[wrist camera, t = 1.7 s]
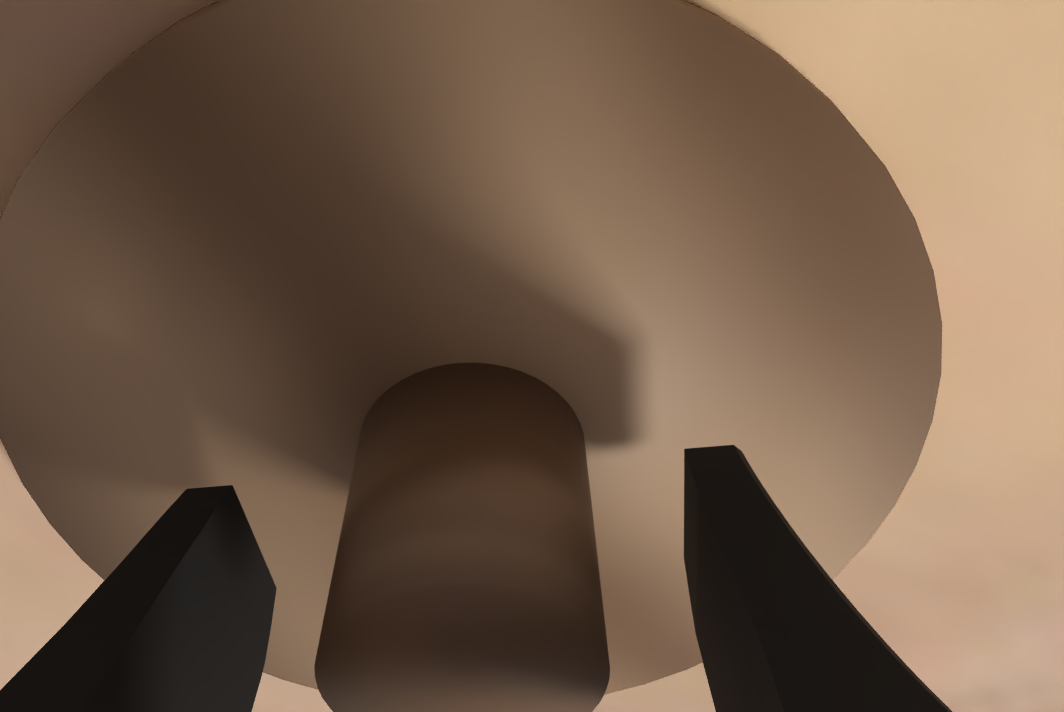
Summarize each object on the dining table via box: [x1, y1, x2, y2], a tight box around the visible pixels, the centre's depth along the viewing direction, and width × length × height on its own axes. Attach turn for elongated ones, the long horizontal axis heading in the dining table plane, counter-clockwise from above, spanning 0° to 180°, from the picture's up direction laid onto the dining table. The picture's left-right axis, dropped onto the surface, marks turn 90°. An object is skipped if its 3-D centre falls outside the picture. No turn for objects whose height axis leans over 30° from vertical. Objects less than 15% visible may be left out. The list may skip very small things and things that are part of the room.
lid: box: [0, 0, 942, 712], centre depth 11 cm, size 13×13×4 cm
